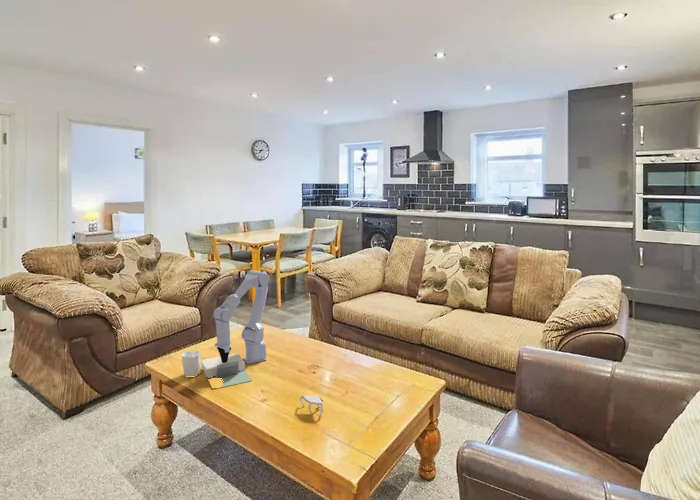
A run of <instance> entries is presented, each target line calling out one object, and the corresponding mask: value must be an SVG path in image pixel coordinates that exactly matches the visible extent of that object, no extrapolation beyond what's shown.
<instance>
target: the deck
mask: <svg viewBox="0 0 700 500" xmlns="http://www.w3.org/2000/svg"><path fill="white" fill-rule="evenodd" d="M243 359H244V358H242V357H241V356H240V354H239V353H238V352H237V353H232V354H229V355H228V360H227V362H226V363H231V362H236V361H238V364H239V366H238V371H240V372H241V371H246V365H245V363H246V361H245V360H243ZM226 363H222V361H221V357H220V356H216V357H211V358H206V359H201V369H202V368H203V369H202V371H203V370H204V372H203V373H205V374H204V375H206V376H205V378H206V377H211V376H216V377H217V365H221V364H226ZM211 378H212V377H211Z"/></svg>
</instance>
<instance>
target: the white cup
mask: <svg viewBox="0 0 700 500" xmlns="http://www.w3.org/2000/svg"><path fill="white" fill-rule="evenodd" d="M201 358H202V357H201V351H200V350H188V351H184V352H183V353H182V354H181V360H182V367H183V368H182V370H183V376H184V375H185V376H196V375H198V374H200V375H201V365H202V361H201V360H202V359H201ZM185 376H184V377H185Z"/></svg>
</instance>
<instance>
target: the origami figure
mask: <svg viewBox="0 0 700 500" xmlns="http://www.w3.org/2000/svg"><path fill="white" fill-rule="evenodd" d="M303 400H304V401H305V402H307V403H308V410H309V415H312V410H311V407H312V405H316V407H319V408H320V409H321V410H320V413H319V415H320V417H322V415H323V413H324V412H323V411H324V410H323V409H324V408H323V403H324V399H323V398H321V395H308V394H307V395H305V394H302V395H301V397H300V399H299V401H300V403H301V405H302V406H303V407H306V405H305V404H304V402H303Z"/></svg>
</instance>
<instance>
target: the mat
mask: <svg viewBox="0 0 700 500" xmlns="http://www.w3.org/2000/svg"><path fill="white" fill-rule="evenodd" d="M222 379H223V381H224V382H223V381H222V382H223V384H224V385H223V384H222V385H223V386H222V387H223V388H226V387H225V386H227V387H230V385H232V386H236V385H240V383H241V384H245V383H249V382H252V381H253V379H252V377H251V376H250V375H249V374H248V372H247V371H246V370H244V371H240V372H238V374H236V375H232V376H227V377H222ZM222 379H221V380H222ZM235 384H236V385H235Z"/></svg>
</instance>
